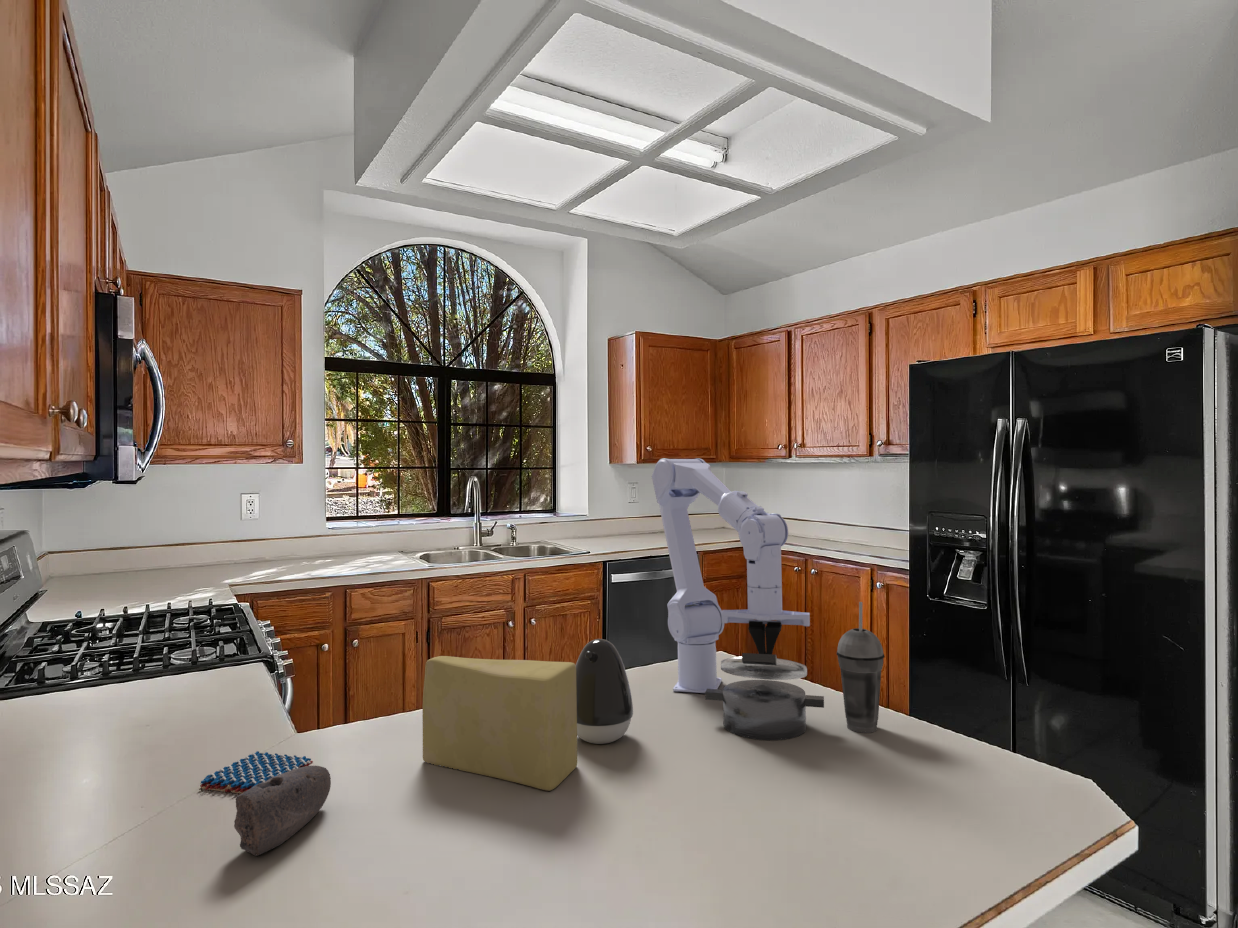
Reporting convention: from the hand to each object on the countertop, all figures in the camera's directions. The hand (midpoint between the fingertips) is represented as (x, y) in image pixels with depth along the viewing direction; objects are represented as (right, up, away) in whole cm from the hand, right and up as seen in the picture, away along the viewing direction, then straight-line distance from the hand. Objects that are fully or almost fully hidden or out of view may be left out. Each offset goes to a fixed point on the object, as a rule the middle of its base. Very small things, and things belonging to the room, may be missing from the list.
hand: (766, 667), depth 121 cm
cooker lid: (-2, +1, -6) cm, 6 cm away
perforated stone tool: (-63, -8, -38) cm, 74 cm away
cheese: (-42, -8, -21) cm, 48 cm away
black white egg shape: (-28, -8, -10) cm, 31 cm away
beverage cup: (+14, -8, -7) cm, 17 cm away
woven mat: (-74, -9, -23) cm, 78 cm away
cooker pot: (-1, -8, -5) cm, 10 cm away
